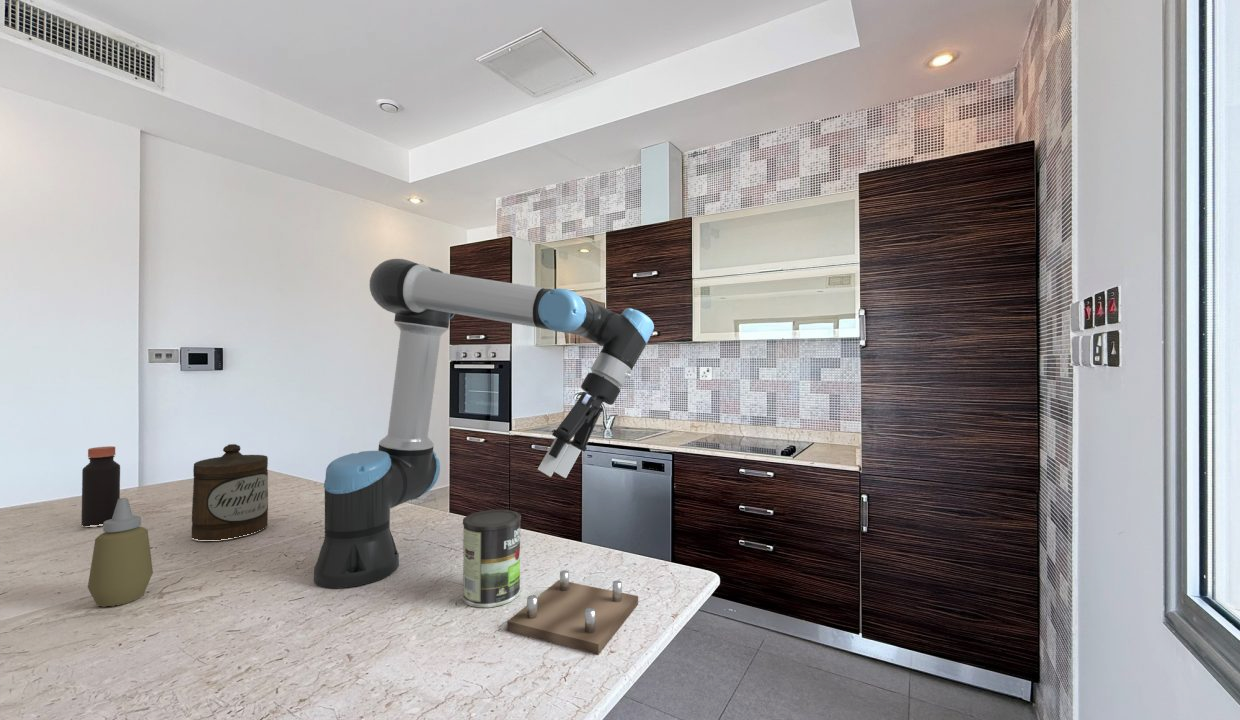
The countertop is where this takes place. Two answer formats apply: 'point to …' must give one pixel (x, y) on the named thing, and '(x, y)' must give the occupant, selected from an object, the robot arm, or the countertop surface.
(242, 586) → the countertop surface
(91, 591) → the squeeze bottle
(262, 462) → the wooden container
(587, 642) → the pin nest
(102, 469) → the vinegar
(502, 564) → the coffee can
